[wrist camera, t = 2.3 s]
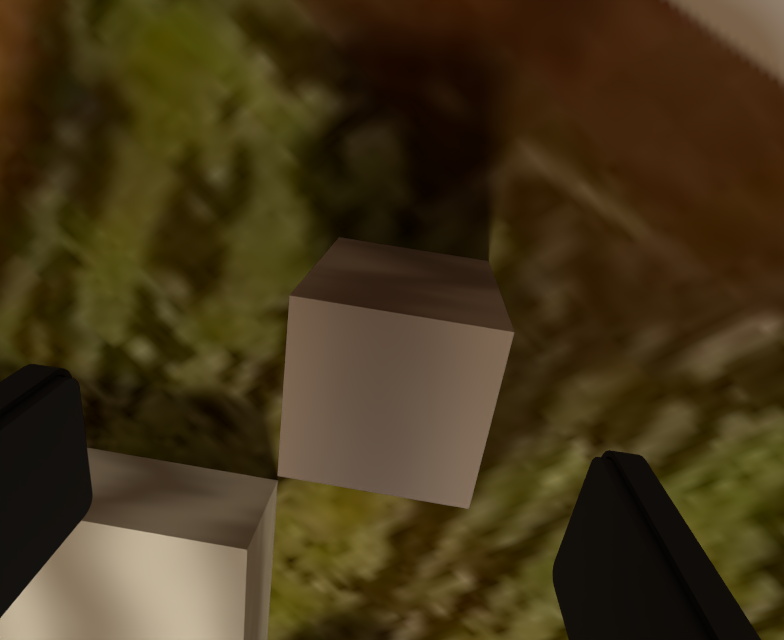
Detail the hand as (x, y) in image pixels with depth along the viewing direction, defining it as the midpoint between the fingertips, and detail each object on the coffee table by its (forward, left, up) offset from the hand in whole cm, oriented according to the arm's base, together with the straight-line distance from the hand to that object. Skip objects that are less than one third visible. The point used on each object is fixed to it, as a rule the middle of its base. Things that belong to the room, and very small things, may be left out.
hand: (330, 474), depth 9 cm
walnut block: (-1, 0, -9) cm, 9 cm away
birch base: (+9, +14, -9) cm, 19 cm away
